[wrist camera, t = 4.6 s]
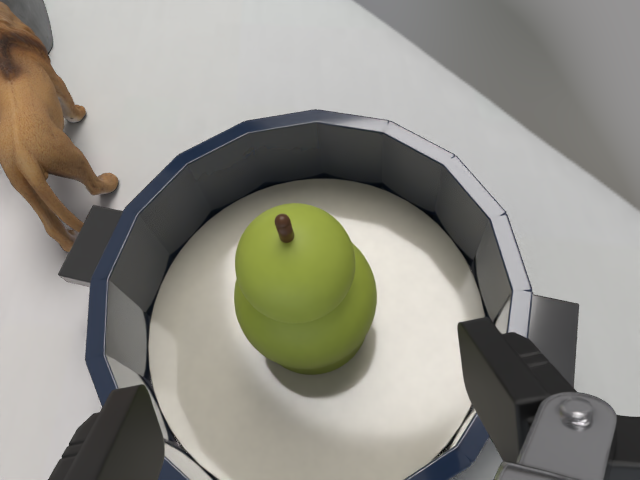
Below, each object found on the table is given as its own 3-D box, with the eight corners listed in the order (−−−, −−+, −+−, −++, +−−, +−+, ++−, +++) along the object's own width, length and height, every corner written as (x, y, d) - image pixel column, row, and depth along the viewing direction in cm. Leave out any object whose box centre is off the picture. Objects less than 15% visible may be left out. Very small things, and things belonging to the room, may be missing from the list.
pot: (38, 453, 25) (-35, 440, 20) (179, 142, 32) (148, 83, 28) (522, 603, 21) (562, 626, 16) (557, 208, 28) (592, 150, 24)
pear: (233, 366, 25) (157, 285, 16) (271, 252, 28) (223, 127, 19) (360, 398, 24) (352, 329, 15) (388, 276, 27) (395, 155, 18)
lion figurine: (-13, 113, 35) (-130, -9, 27) (63, 71, 36) (-27, -58, 28) (80, 284, 28) (-34, 194, 20) (169, 228, 30) (92, 121, 22)
